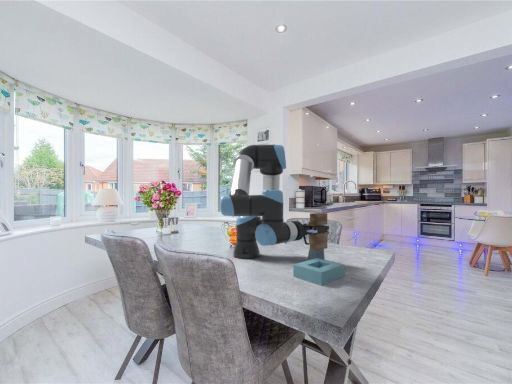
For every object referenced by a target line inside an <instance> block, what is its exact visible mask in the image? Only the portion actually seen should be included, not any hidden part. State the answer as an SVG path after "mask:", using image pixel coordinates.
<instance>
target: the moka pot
mask: <svg viewBox="0 0 512 384" xmlns="http://www.w3.org/2000/svg"><path fill="white" fill-rule="evenodd" d="M329 234H330V230H329V231H327V237H328V236H329ZM303 241H304V244H305V245H307V246H310V234H308V242H307V238H306V235H304V236H303ZM307 255H308V256H307V260H306V261H308V260H311V259H315V258H319V259H324V260H326V259H325V258H326V257H325V249H322V250H313V249H310V248H309V249H308V254H307Z"/></svg>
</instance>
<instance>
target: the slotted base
mask: <svg viewBox="0 0 512 384" xmlns="http://www.w3.org/2000/svg"><path fill="white" fill-rule="evenodd" d="M292 267H293V270H292V271H293V277H294V278H297V279H300V280H303V281H307V282H310V283H312V284H316V285H317V286H318V285H319V286H324V285H326V284H328V283H332V282H333V281H336V280H339V279H341V278H342V277H345V264H344V263H340V262H335V261H330V260H327V259H325V260H324V259H319V258H315V259H311V260H308V261H307V260H305V261H301V262H298V263H294V264H293V266H292Z"/></svg>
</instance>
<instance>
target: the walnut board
mask: <svg viewBox="0 0 512 384" xmlns="http://www.w3.org/2000/svg"><path fill="white" fill-rule="evenodd" d="M309 222H310V225H311V226H321V225H324V224H328V213H327V212H314V213H312V212H311V213H309ZM309 249H313V250H322V249H324V250H325V249H328V236H327V232H326V233H320V234H317V235H313V233H312V234H310V244H309Z"/></svg>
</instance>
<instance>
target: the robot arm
mask: <svg viewBox="0 0 512 384" xmlns="http://www.w3.org/2000/svg"><path fill="white" fill-rule="evenodd" d="M286 161H287V160H286V151H285V147H284V146H283V145H281V144H250V145H247V146H245V147H243V148H242V149H241V150H239V151H238V153H237V154H236V155H235V156H234V158H233V168H234V169H233V173H232V174H233V175H232V178H231V183H230V189H229V193H228V194H226V195H225V194H224V195H222V196H221V198H220V212H221V215H223V216H225V217H233V218H234V217H237V218H236V224H235V226H236V228H235V229H236V233H235V234H236V237H235V238H236V240H235V241H236V242H235V245H234V249H233V253H232V255H233V257H234V258H237V259H242V260H243V259H256V258H258V257H260V256H261V254H260V253H261V252H260V249H259V246H258V244H259V245H261V246H263V247H266V246H268V247H269V246H275V245H279V244H285V245H287V244H288V243H291V242H296V241H301V240H302V239H304V237H303V236H304V235H305V236H309V234H312V233H313V235H317V234H320V233H326V232H327V231H329V232H330V231H332V223H327V224H324V225H321V226H311V225H310V221H309V222H308V223H302V222H300V221H298V220H292V221H290V220H289V221H284V192H283V191H282V190H281V189H280V181H281V178H280V177H281V176H280V175H282V174H283V173H284V170H286V169H287V162H286ZM253 170H259V172H260V174H261V175H262V191H261V192H262V193H261V194H251V195H250V189H251V188H250V187H251V186H250V185H251V178H252V177H251V176H252V172H253Z"/></svg>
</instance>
